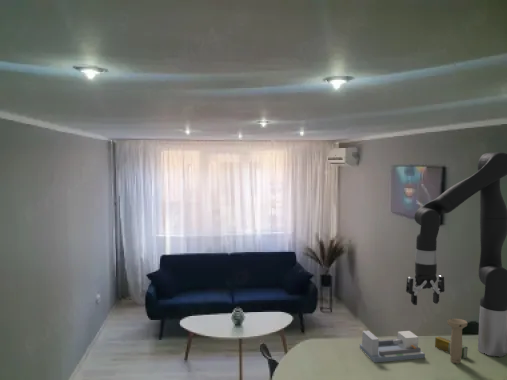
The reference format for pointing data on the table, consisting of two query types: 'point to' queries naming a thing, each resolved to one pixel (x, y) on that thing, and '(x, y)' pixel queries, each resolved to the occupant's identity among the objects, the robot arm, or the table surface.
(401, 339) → the plunger
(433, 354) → the table surface
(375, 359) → the gauge bed
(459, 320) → the handle
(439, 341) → the medication box
